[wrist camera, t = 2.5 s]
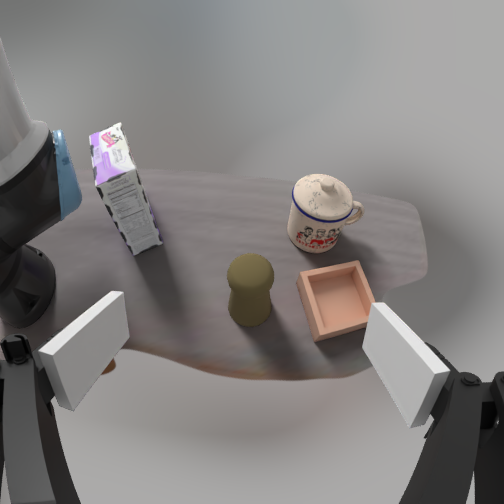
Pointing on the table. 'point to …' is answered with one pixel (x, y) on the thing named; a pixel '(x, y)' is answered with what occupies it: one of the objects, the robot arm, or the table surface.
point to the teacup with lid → (320, 212)
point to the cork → (250, 289)
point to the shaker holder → (335, 299)
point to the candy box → (123, 189)
